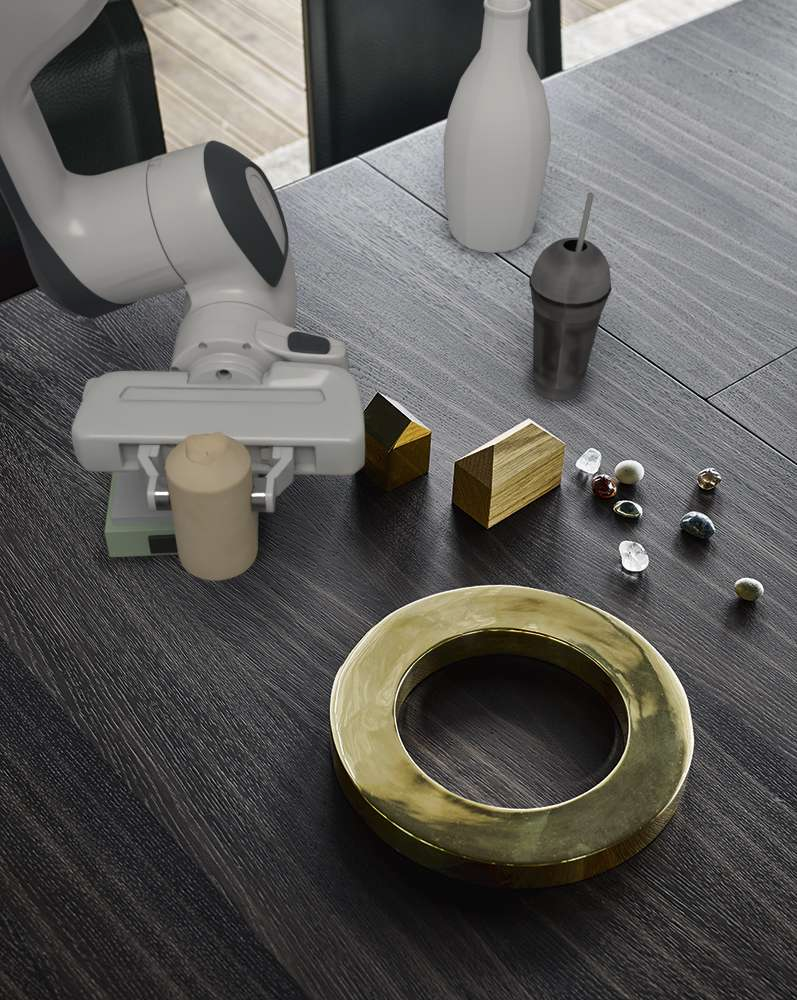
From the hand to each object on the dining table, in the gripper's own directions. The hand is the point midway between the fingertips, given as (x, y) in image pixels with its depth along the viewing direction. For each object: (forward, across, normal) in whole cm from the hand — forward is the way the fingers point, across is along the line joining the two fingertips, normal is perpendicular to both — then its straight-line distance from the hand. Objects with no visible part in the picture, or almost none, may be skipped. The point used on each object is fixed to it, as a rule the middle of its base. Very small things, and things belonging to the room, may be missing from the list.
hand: (211, 505), depth 83 cm
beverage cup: (-33, +28, +17) cm, 46 cm away
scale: (-17, -5, +17) cm, 24 cm away
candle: (-1, 0, +6) cm, 6 cm away
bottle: (-60, +23, +17) cm, 66 cm away
